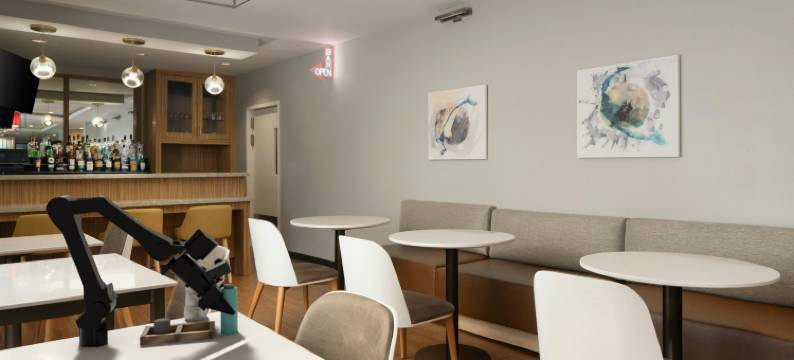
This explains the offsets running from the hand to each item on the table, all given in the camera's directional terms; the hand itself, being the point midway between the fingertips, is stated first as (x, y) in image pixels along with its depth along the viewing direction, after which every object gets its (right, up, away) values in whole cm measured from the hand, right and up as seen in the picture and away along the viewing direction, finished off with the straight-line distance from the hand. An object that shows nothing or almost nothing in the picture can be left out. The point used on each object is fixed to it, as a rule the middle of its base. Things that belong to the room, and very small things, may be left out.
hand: (234, 311), depth 151 cm
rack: (-13, -7, -4) cm, 15 cm away
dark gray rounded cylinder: (-17, -6, -5) cm, 19 cm away
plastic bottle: (-15, -6, +13) cm, 21 cm away
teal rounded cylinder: (-1, -7, 0) cm, 7 cm away
